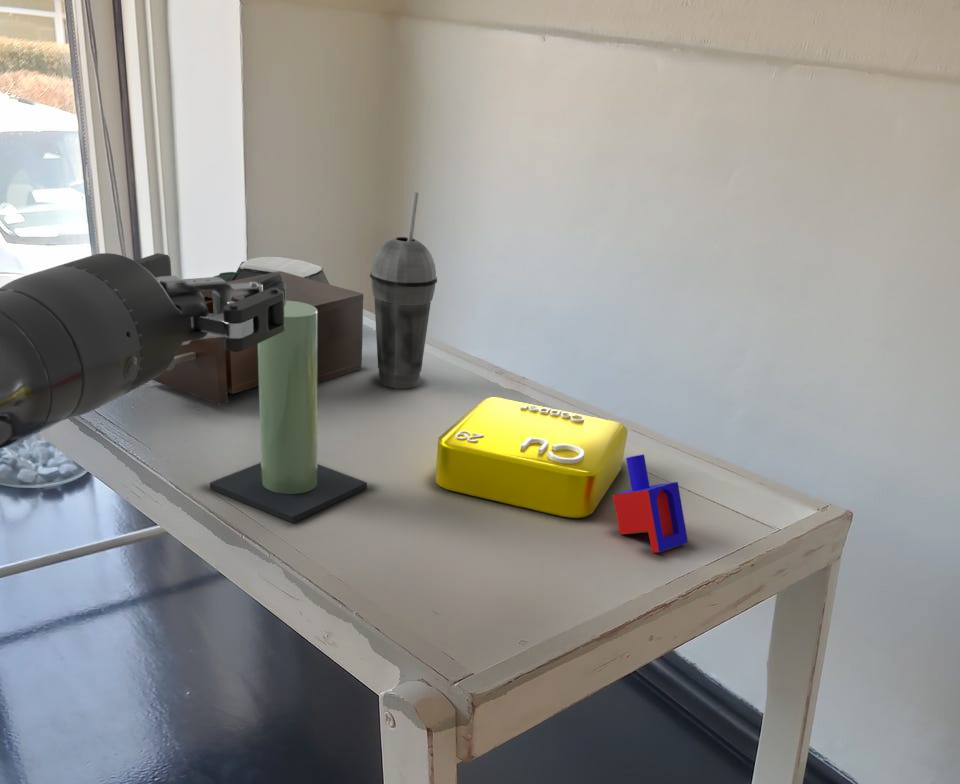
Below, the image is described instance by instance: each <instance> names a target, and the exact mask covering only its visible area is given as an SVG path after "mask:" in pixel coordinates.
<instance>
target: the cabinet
mask: <svg viewBox="0 0 960 784" xmlns="http://www.w3.org/2000/svg"><path fill="white" fill-rule="evenodd" d="M273 273H276V274H281V275H282V278H283V281H284V282H286V301H296V302H302V303H306V304H309V305H312V306H314V307H315V308H316V309H317V311H318V384H321V383H323V382H328V381H329V380H333V379H336V378H338V377H342V376H345V375H349V374H351V373H354V372H357V371H360V370H362V367H363V329H364V328H363V325H364V324H363V323H364V293H362V292H359V291H355V290H351V289H347V288H344V287H340V286H338V285H333V284H330V283H329V284H330V285H329V284H326V283H322V282H318V281H315V280H311V279H307V278H304V277H300V276H296V275H293V274H289V273H285V272H282V271H278V272H273ZM263 275H266V274H263ZM263 275H258V276H253V277H248V278H243V279H238V280H234V281H229V282H228V283H229V284H238V283H247V282H250V281H252V280H254V279H257V278H259V277H261V276H263ZM201 294H202V295H203V298H204V300H205V301H208V300H213V293H212V291H204V292H201ZM242 299H244V296H235V297H233V298H232V301H233V302H237V301H239V300H242Z"/></svg>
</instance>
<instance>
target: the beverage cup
mask: <svg viewBox="0 0 960 784" xmlns="http://www.w3.org/2000/svg"><path fill="white" fill-rule="evenodd" d="M418 201H419V192H416V191H413V195H412V203H411V211H410V218H409V225H408V226H409V227H408V234H407V236H398V237H394V238H392V239H389V240H388V241H386V242H385V243H383V245H381V247H380V248H379V249H378V251H377V252H376V254H375V256H374V259H373V261H372V265H371V272H370V275H369V277H370V279H371V290H372V295H373V297H374V298H373V299H374V318H375V337H376V357H377V368H378V376H379V378H378V379H379V380H378V381H379V383H380V385H383V386H385V387H388V388H393V389H413V388H416V387H418V385H419V383H420V377H421V372H422V367H423V361H424V360H423V359H424V353H425V346H426V339H427V332H428V324H429V317H430V311H431V310H430V309H431V303H432V301H433V298H434V294H435V291H436V284H437V283H438V277H437V269H436V263H435V259H434V258H433V255H432V253H431V252H430V251H429V249H428V247H426V246H425V245H424V244H423V243H422V242H420V241H419V240H417V239H415V238H414V231H415V225H416V217H417V208H418Z"/></svg>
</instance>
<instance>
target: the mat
mask: <svg viewBox="0 0 960 784" xmlns="http://www.w3.org/2000/svg"><path fill="white" fill-rule="evenodd" d="M209 489H210V490H212V491H214V492H217V493H219V494H222V495H224V496H227V497H229V498H231V499H234V500H236V501H239V502H241V503H242V504H243V503H244V504H246V505H248V506H251V507H253V508H256V509H258V510H261V511H263V512H265V513H268V514H269V515H273V516H275V517H277V518H279V519H282V520H284V521H287V522H290V523H292V524H294V523H296V522H298V521H300V520H303V519H305V518H307V517H309V516H311V515H313V514H316V513H318V512H320V511H322V510H324V509H326V508H328V507H330V506H332V505H334V504H337V503H339V502H341V501H343V500H345V499H347V498H349V497H352V496H354V495H356V494H358V493H360V492H362V491H364V490H366V489H368V482H366V481H363V480H360V479H359V478H356V477H353V476H351V475H348V474H345V473H343V472H340V471H338V470H334V469H331V468H329V467H326V466H323V465H321V464H318V463H317V486H316V487H315V488H314V489H313V490H311V491H308V492H305V493H300V494H281V493H276V492H272V491H270V490H268V489H266V488H265V487H264V486H263V485H262V480H261V462H259V463H256V464H254V465H252V466H249V467H246V468H244V469H241V470H238V471H236V472H233V473H231V474H229V475H226V476H223V477H221V478H218V479H216V480H212V481H211V482H209Z"/></svg>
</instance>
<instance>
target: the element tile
mask: <svg viewBox="0 0 960 784" xmlns="http://www.w3.org/2000/svg"><path fill="white" fill-rule="evenodd" d="M627 438H628V429H627V427H626V426H625V424H623V423H621V422H619V421H614V420H609V419H604V418H599V417H595V416H590V415H585V414H580V413H575V412H570V411H565V410H562V409H554V408H552V407H545V406H540V405H536V404H531V403H525V402H521V401H515V400H511V399H507V398H502V397H495V396H491V397H487V398H485V399H483V400H481V401H479V402H478V403H477V404H476V405H474V406H473V407H472V408H471V409H470V410H469V411H468V412H466V414H464V415H463V416H462V417H461V418H460V419H458V420H457V421H456V422H455V423H454V424H452V426H450V427H449V428H447V430H445V432H443V433H442V434H441V435H440V436H439V437H438V439H437V446H436V447H437V449H436V462H435V463H436V465H435V483H436V484H437V485H438V486H439V487H441V488H443V489H444V490H447V491H450V492H454V493H459V494H463V495H467V496H470V497H471V496H472V497H476V498H480V499H485V500H489V501H493V502H497V503H502V504H505V505H509V506H510V505H511V506H515V507H518V508H524V509H528V510H533V511H535V512H541V513H544V514H549V515H554V516H558V517H561V518H562V517H563V518H568V519H583V518H586V517H588V516H591V514H593V512H595V510H596V509H597V507H598V505H599V504H600V502H601V500H602V499H603V497H604V496H605V494H606V493H607V492H608V490H609V489H610V487H611V485H612V484H613V482H614V481H615V479H616V477H617V476H618V475H619V473H620V472H621V470H622V466H623V461H624V455H625V450H626V443H627Z"/></svg>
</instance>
